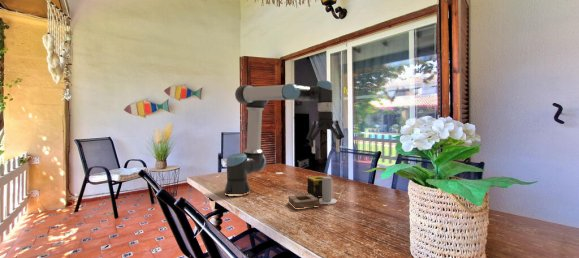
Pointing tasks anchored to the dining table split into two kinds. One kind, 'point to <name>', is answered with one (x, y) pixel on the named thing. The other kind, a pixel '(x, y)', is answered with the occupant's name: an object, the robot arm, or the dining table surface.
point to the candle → (315, 185)
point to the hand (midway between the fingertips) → (325, 152)
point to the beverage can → (326, 189)
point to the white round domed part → (327, 202)
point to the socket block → (303, 201)
